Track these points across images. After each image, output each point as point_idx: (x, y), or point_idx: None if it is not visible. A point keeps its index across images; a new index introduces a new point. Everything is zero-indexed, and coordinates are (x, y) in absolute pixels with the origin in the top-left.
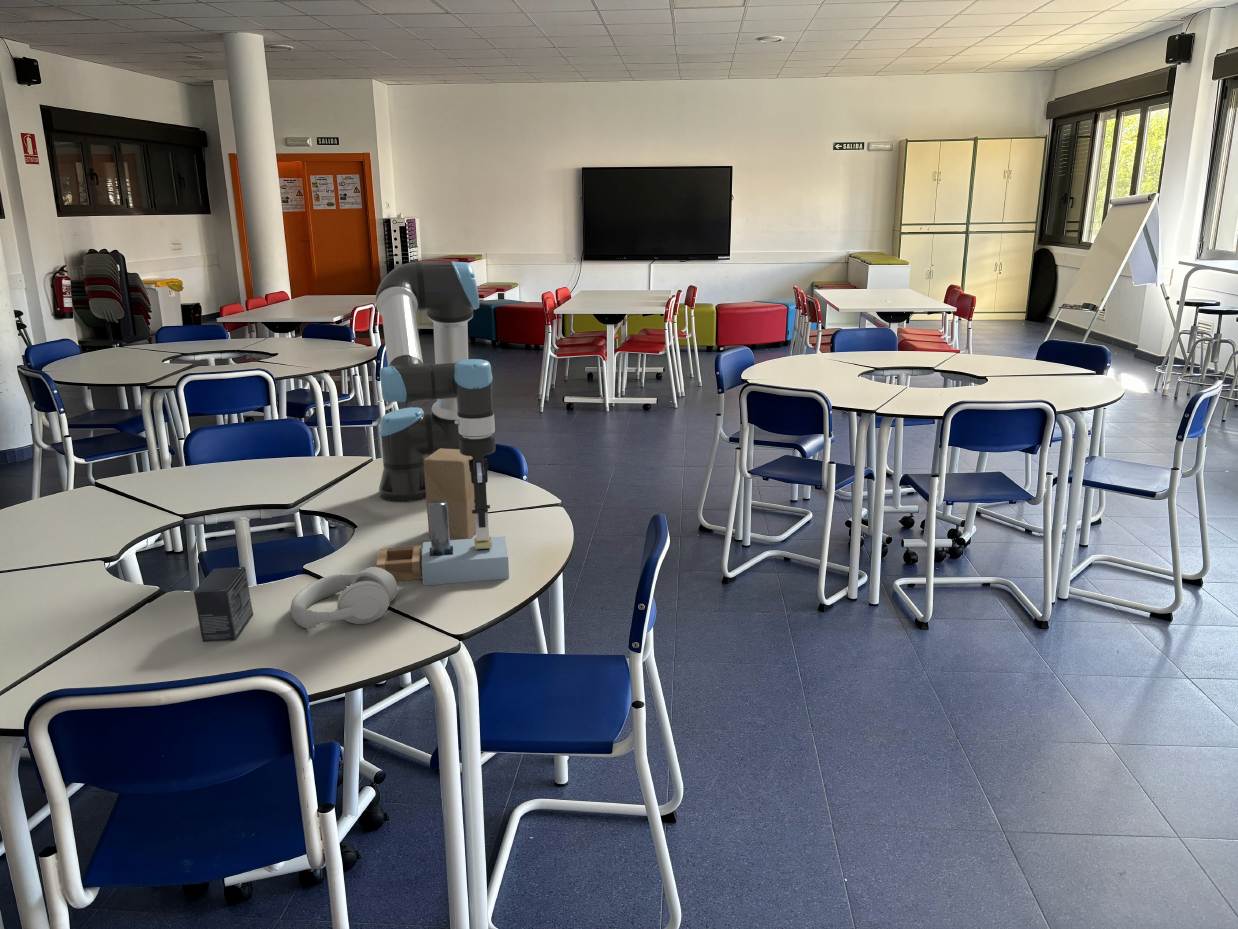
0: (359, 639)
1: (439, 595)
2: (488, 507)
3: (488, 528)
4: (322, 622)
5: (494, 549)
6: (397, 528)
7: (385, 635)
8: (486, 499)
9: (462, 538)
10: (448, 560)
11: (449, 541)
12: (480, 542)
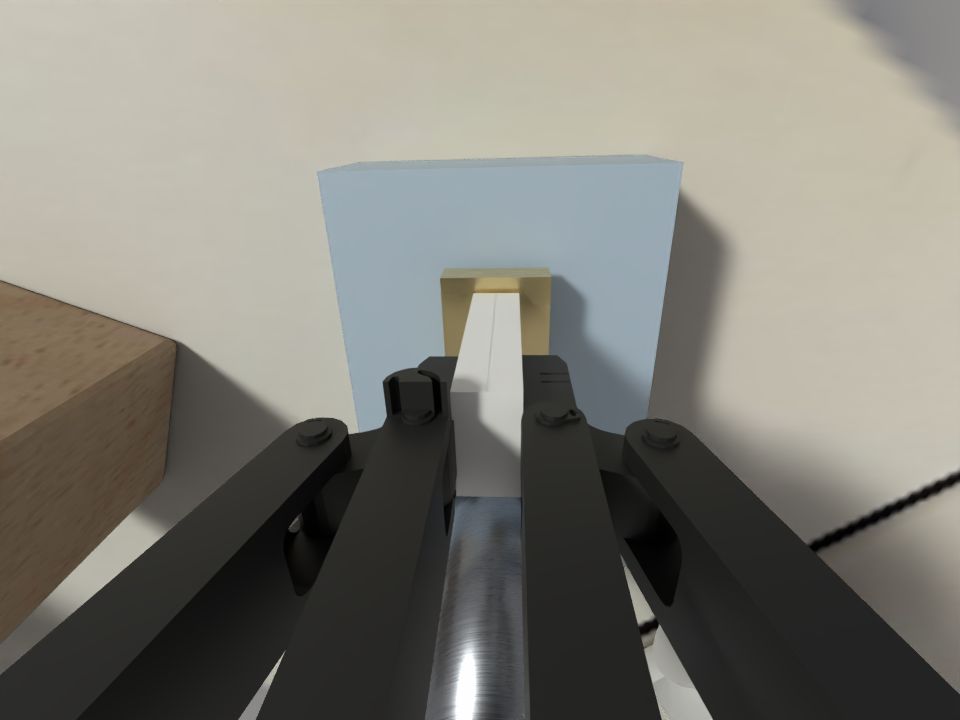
0: (932, 633)
1: (715, 446)
2: (445, 392)
3: (520, 324)
4: None
5: (535, 247)
6: (76, 567)
7: (949, 582)
8: (836, 574)
9: (168, 368)
10: None
11: (513, 503)
12: (531, 344)
